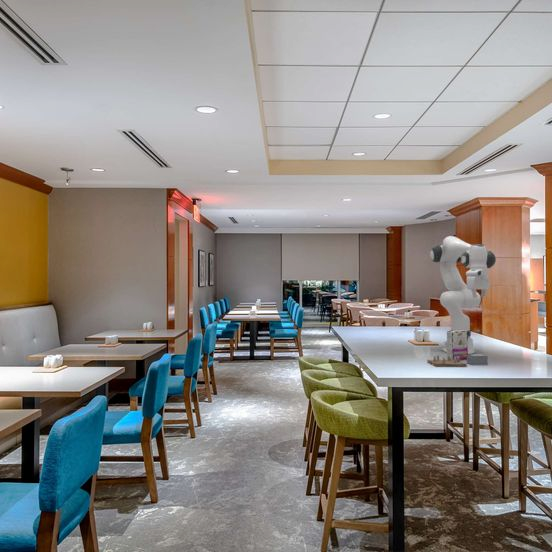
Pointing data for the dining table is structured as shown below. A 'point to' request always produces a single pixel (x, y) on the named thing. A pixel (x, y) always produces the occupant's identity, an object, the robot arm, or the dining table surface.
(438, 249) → the robot arm
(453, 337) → the candy bar box
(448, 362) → the pin tray
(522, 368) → the dining table surface
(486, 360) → the block
